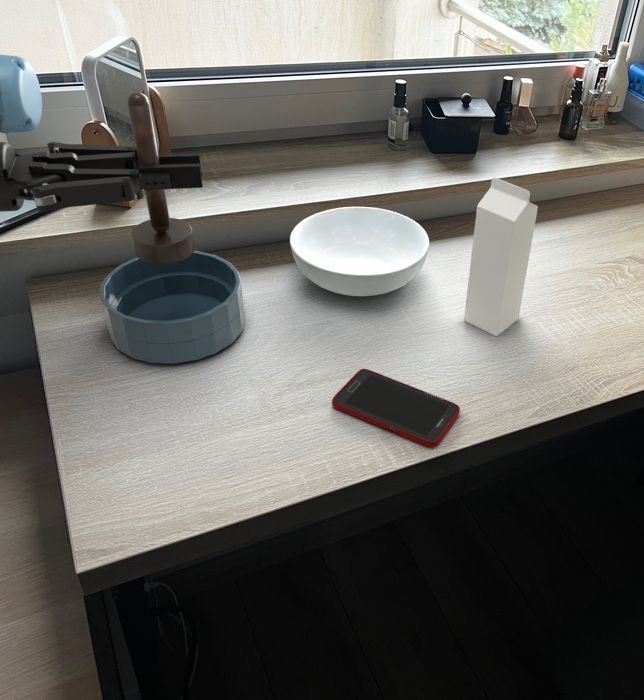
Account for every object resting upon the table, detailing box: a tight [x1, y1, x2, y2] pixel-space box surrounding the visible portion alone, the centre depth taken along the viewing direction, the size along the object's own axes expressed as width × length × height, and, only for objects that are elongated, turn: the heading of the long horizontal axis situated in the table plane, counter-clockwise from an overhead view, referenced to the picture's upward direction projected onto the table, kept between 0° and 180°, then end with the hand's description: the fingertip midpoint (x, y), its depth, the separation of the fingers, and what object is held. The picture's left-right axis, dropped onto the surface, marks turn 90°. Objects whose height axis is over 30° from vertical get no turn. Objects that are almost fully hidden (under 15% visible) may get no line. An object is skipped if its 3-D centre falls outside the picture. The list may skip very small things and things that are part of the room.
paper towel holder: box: [126, 91, 196, 264], centre depth 85 cm, size 7×7×20 cm
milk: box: [463, 176, 539, 337], centre depth 101 cm, size 6×6×22 cm
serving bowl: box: [289, 206, 430, 297], centre depth 111 cm, size 21×21×7 cm
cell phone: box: [331, 368, 461, 448], centre depth 90 cm, size 8×15×1 cm, turn 65°
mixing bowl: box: [99, 250, 246, 364], centre depth 97 cm, size 17×17×7 cm
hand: (200, 170), depth 86 cm, fingers closed on paper towel holder, 2 cm apart
